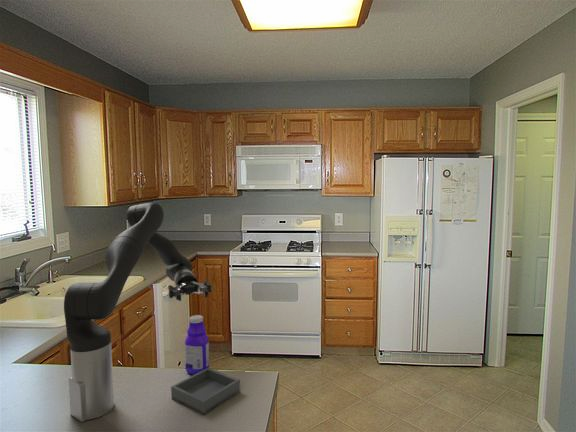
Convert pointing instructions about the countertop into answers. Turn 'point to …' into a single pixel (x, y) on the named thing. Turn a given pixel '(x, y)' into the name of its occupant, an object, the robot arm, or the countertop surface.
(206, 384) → the tray
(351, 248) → the countertop surface
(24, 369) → the countertop surface
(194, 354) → the bottle
